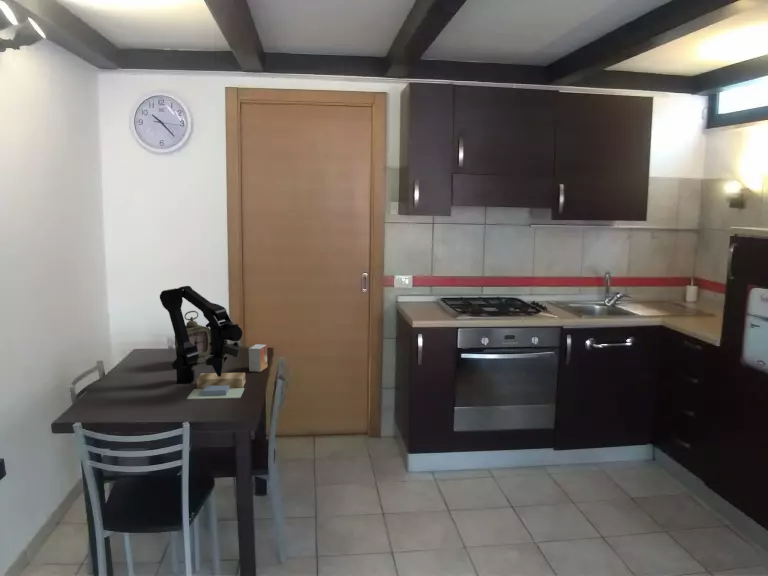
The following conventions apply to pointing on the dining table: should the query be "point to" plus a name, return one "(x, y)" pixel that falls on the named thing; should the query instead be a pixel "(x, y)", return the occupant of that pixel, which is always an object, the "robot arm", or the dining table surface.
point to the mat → (231, 394)
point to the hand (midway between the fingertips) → (219, 376)
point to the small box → (258, 357)
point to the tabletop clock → (198, 336)
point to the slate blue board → (215, 390)
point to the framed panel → (221, 380)
